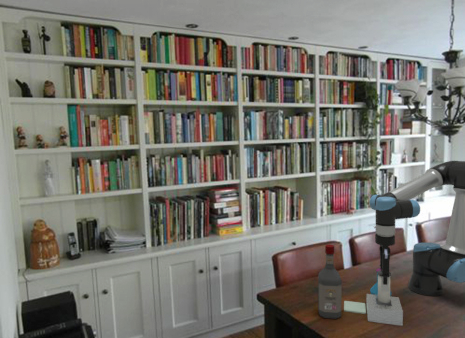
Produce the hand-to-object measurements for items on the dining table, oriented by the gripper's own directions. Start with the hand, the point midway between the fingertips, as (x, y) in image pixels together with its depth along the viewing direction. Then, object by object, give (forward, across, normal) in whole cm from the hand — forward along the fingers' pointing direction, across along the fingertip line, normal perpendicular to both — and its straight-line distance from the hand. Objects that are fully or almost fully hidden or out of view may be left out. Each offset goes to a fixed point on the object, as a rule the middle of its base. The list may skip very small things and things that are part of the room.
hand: (384, 288), depth 148 cm
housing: (+12, 0, 0) cm, 12 cm away
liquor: (+12, +4, -22) cm, 26 cm away
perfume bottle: (+12, -14, 0) cm, 19 cm away
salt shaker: (+5, 0, 0) cm, 5 cm away
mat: (+12, -4, -12) cm, 17 cm away
